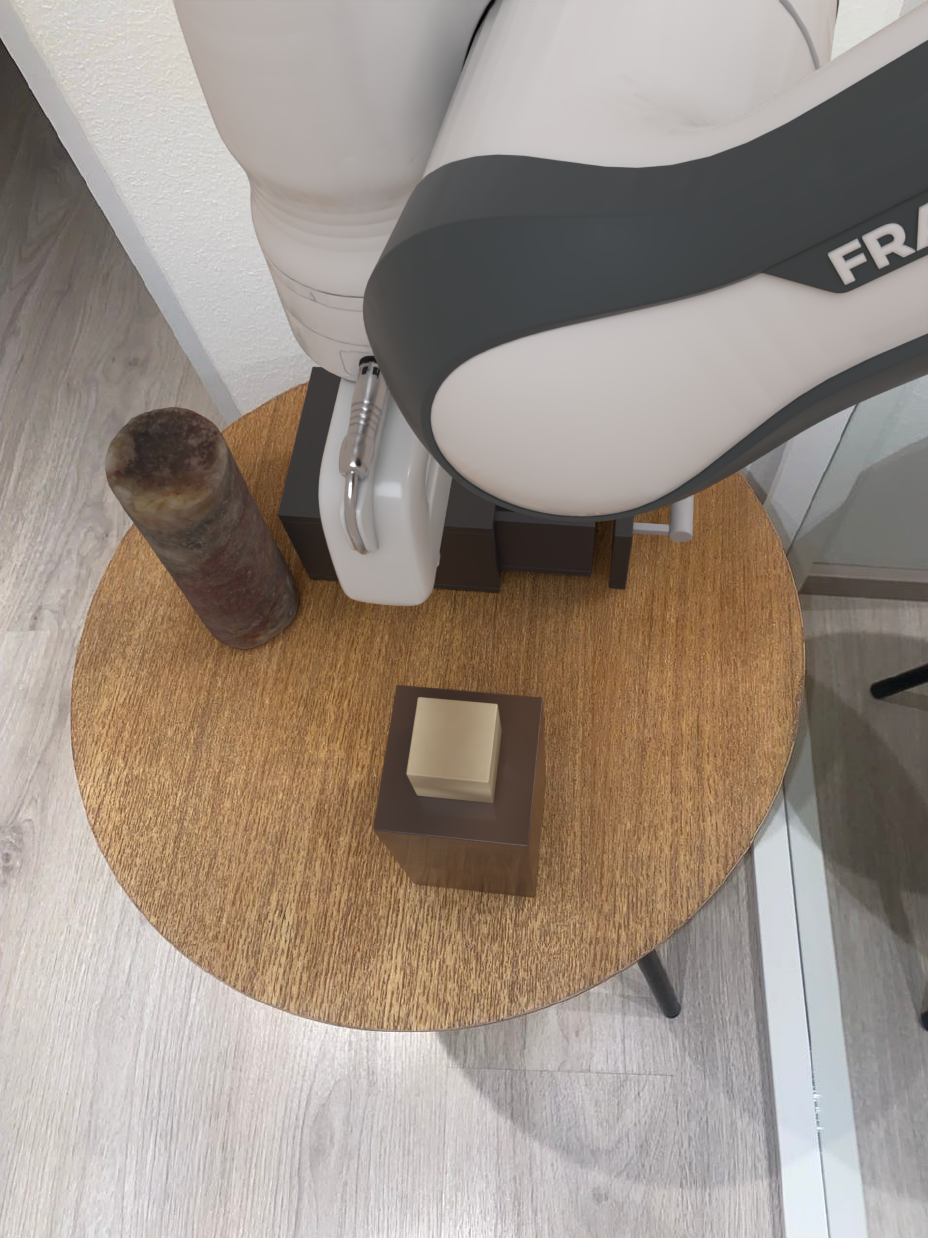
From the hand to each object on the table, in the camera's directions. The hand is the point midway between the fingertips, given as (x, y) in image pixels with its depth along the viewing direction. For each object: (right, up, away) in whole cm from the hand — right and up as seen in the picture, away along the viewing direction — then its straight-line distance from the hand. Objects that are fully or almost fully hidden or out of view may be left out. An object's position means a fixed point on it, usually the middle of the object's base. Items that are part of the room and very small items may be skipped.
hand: (438, 471), depth 49 cm
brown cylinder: (-14, -7, +25) cm, 30 cm away
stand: (+2, -22, +17) cm, 27 cm away
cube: (+1, -15, +2) cm, 15 cm away
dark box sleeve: (-2, +1, +28) cm, 28 cm away
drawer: (+9, 0, +25) cm, 27 cm away
